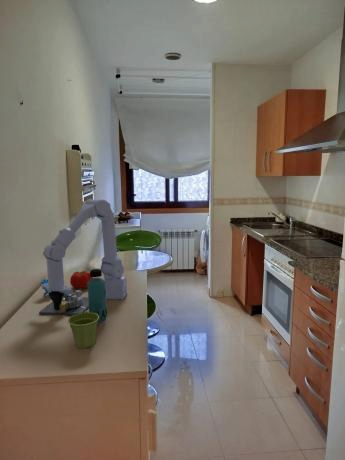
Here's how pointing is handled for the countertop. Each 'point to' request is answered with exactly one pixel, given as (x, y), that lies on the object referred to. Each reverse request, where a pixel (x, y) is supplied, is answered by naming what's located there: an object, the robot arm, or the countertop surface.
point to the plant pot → (84, 329)
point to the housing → (67, 297)
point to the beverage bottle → (97, 295)
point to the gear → (45, 289)
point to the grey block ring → (72, 302)
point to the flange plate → (73, 311)
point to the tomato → (80, 279)
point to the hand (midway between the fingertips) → (58, 309)
